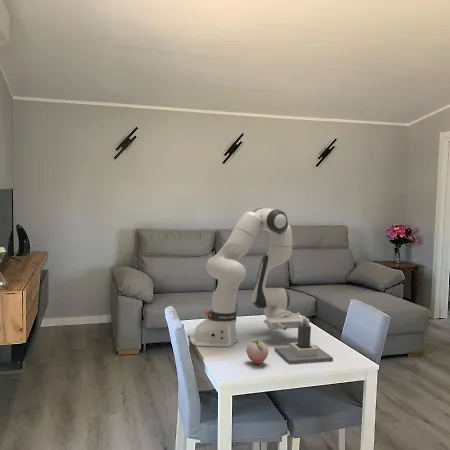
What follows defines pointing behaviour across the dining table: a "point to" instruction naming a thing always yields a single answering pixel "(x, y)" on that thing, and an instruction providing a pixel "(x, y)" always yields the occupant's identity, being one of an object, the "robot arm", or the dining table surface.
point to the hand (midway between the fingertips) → (294, 327)
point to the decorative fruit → (257, 351)
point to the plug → (304, 335)
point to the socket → (302, 354)
